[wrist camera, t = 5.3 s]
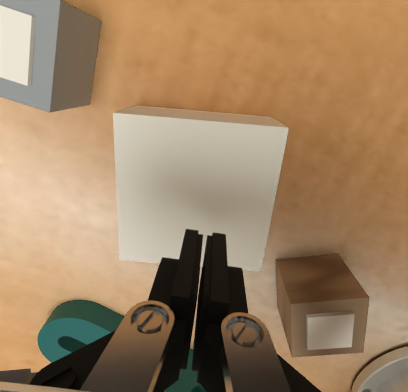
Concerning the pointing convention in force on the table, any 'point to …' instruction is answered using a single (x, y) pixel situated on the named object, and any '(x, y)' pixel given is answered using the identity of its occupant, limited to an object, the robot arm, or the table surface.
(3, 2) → the slate block
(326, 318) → the walnut block
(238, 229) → the plain block
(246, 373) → the robot arm
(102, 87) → the table surface
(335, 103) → the table surface
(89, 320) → the bracket
